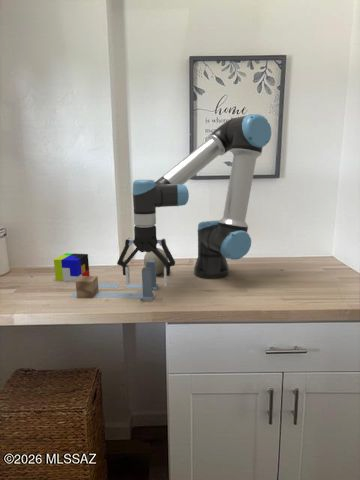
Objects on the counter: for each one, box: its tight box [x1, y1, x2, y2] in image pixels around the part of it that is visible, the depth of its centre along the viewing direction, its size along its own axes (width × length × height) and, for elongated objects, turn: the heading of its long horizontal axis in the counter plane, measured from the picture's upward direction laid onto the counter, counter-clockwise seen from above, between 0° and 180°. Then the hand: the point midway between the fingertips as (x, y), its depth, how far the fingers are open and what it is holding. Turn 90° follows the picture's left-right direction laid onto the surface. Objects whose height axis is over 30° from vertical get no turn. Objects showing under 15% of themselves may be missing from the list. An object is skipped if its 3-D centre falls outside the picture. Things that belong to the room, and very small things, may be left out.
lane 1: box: [69, 266, 155, 302], centre depth 126 cm, size 30×5×11 cm, turn 85°
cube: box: [75, 275, 100, 299], centre depth 127 cm, size 6×6×6 cm
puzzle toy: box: [53, 252, 91, 283], centre depth 146 cm, size 10×10×10 cm
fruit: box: [143, 244, 169, 276], centre depth 152 cm, size 10×12×15 cm
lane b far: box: [98, 282, 121, 289], centre depth 137 cm, size 15×5×1 cm, turn 85°
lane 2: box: [124, 260, 159, 292], centre depth 134 cm, size 12×5×11 cm, turn 85°
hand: (146, 284), depth 125 cm, fingers open, 13 cm apart
